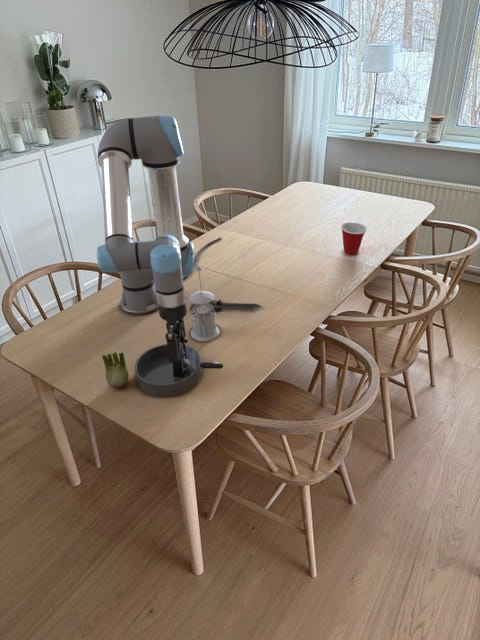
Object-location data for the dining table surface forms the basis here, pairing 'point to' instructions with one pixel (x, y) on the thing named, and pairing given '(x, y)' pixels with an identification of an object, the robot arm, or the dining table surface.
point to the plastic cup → (352, 237)
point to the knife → (232, 305)
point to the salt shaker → (185, 364)
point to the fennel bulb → (115, 369)
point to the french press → (203, 315)
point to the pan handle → (211, 365)
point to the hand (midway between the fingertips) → (181, 368)
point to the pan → (165, 372)
